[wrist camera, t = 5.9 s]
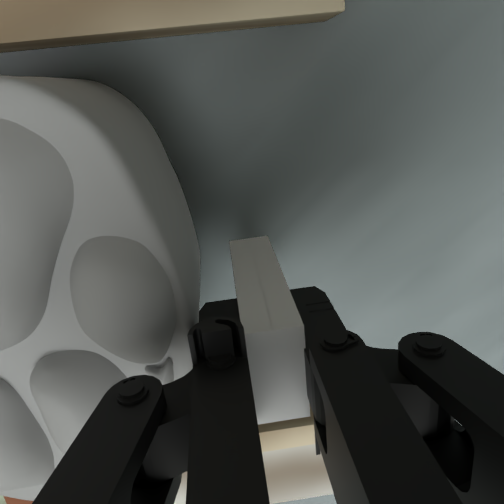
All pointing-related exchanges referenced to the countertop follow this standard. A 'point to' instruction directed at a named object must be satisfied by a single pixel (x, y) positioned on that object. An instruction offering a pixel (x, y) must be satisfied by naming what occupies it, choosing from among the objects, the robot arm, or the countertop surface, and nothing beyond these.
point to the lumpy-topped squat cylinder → (83, 265)
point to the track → (174, 24)
